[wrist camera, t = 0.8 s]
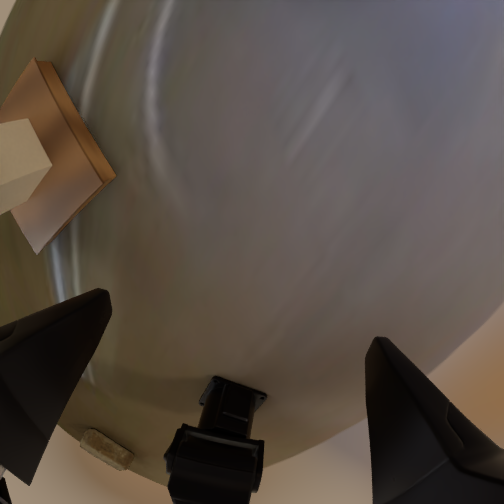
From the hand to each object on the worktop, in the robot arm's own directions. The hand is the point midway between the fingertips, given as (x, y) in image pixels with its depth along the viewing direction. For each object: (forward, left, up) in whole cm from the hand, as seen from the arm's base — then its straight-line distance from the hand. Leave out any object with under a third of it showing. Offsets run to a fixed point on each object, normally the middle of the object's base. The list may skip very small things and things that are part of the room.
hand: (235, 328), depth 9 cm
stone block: (-60, +9, -14) cm, 62 cm away
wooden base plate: (-4, +21, -13) cm, 25 cm away
